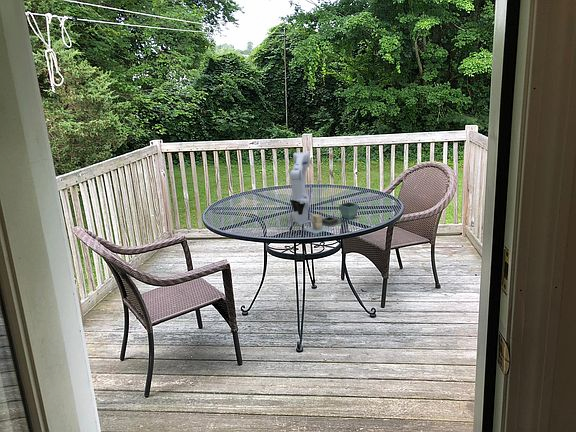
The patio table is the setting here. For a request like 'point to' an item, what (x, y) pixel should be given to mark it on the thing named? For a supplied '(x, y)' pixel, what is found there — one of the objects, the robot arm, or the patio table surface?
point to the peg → (317, 221)
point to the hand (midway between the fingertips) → (298, 213)
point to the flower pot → (348, 210)
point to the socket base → (331, 221)
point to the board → (311, 230)
